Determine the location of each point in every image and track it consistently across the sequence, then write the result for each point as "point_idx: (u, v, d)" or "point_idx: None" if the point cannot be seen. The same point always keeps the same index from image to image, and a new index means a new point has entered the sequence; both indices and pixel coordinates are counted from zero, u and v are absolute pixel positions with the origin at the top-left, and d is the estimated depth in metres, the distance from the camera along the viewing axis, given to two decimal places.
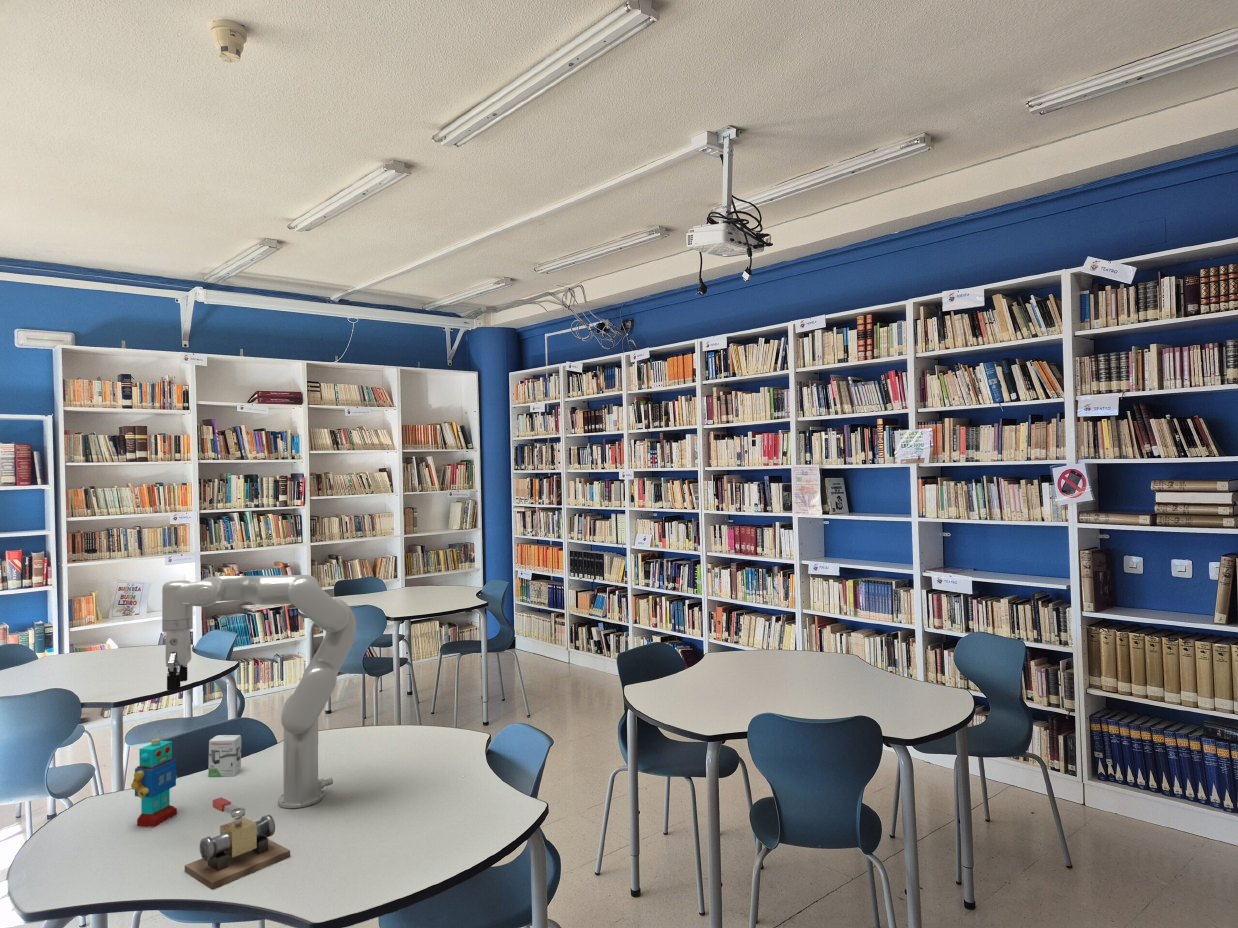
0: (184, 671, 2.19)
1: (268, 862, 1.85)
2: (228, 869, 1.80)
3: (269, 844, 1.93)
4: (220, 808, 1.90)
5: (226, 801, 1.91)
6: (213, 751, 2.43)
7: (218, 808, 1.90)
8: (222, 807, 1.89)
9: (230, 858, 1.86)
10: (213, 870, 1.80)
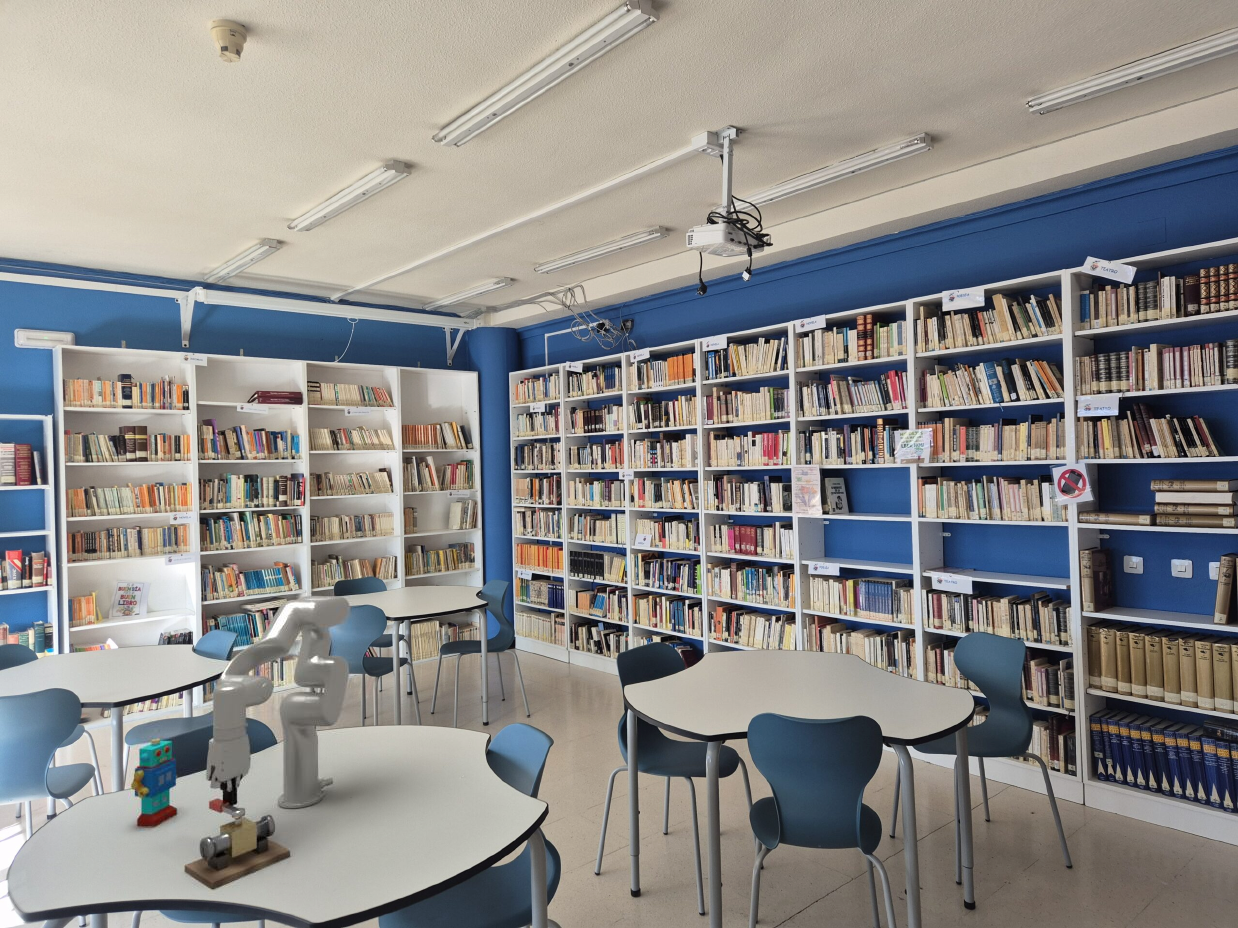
0: None
1: (268, 862, 1.85)
2: (228, 869, 1.80)
3: (269, 844, 1.93)
4: (218, 809, 1.89)
5: (224, 802, 1.91)
6: None
7: (216, 809, 1.90)
8: (220, 808, 1.89)
9: (230, 858, 1.86)
10: (213, 870, 1.80)
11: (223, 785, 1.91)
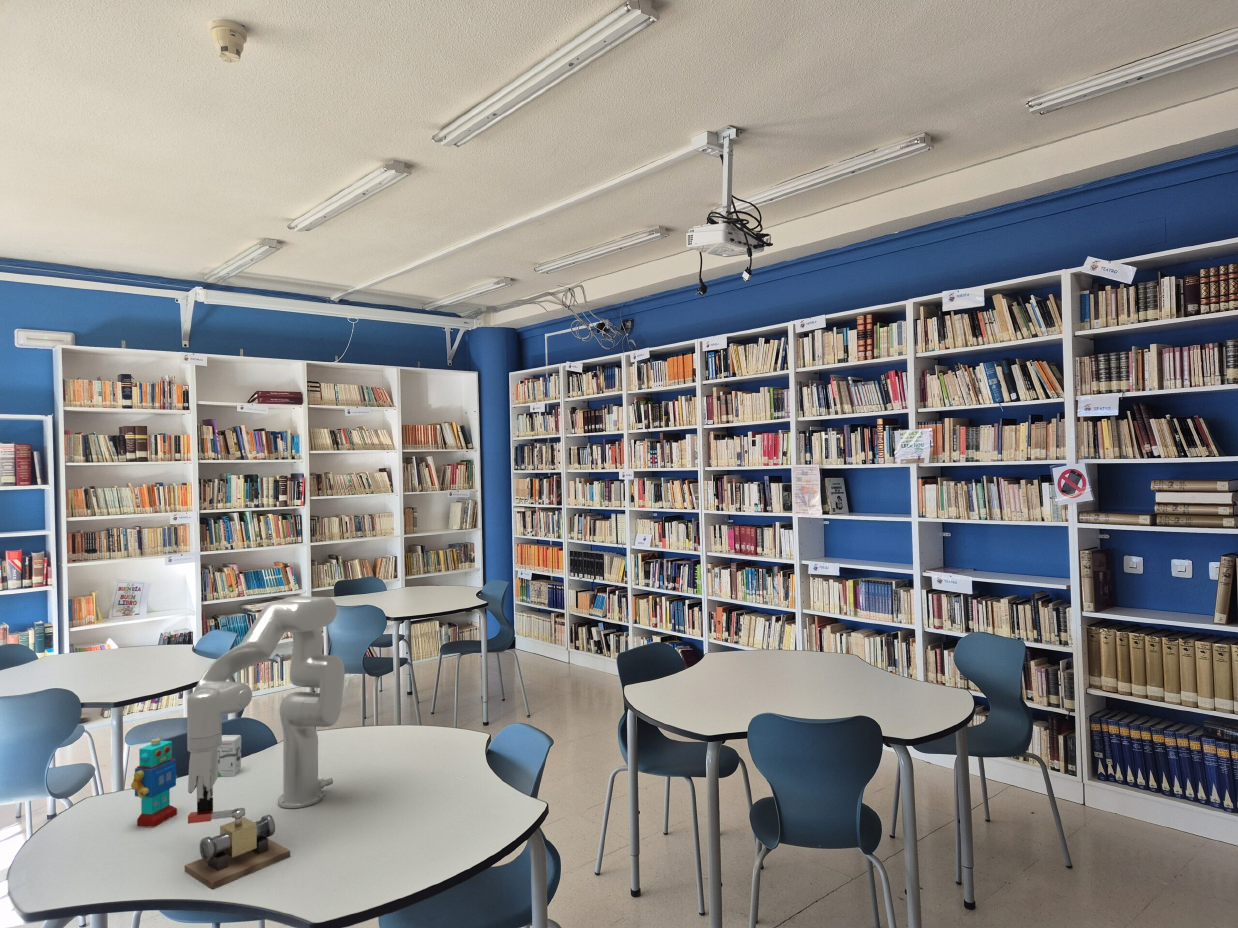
0: None
1: (268, 862, 1.85)
2: (228, 869, 1.80)
3: (269, 844, 1.93)
4: (206, 818, 1.84)
5: (207, 811, 1.85)
6: None
7: (202, 820, 1.83)
8: (210, 816, 1.84)
9: (230, 858, 1.86)
10: (213, 870, 1.80)
11: (206, 794, 1.85)
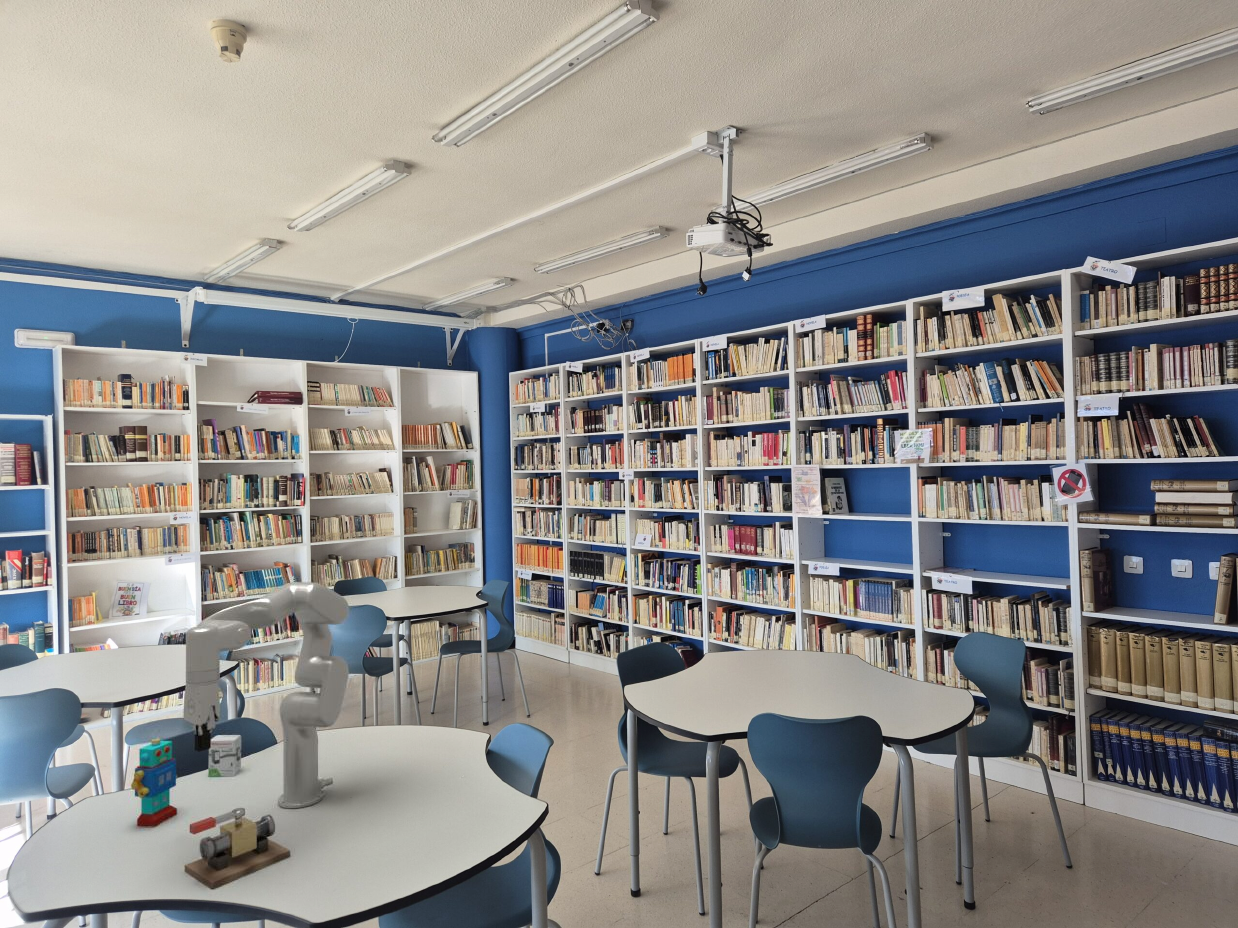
0: None
1: (268, 862, 1.85)
2: (228, 869, 1.80)
3: (269, 844, 1.93)
4: (212, 824, 1.80)
5: (207, 819, 1.81)
6: (213, 751, 2.43)
7: (207, 827, 1.79)
8: (215, 822, 1.81)
9: (230, 858, 1.86)
10: (213, 870, 1.80)
11: None
